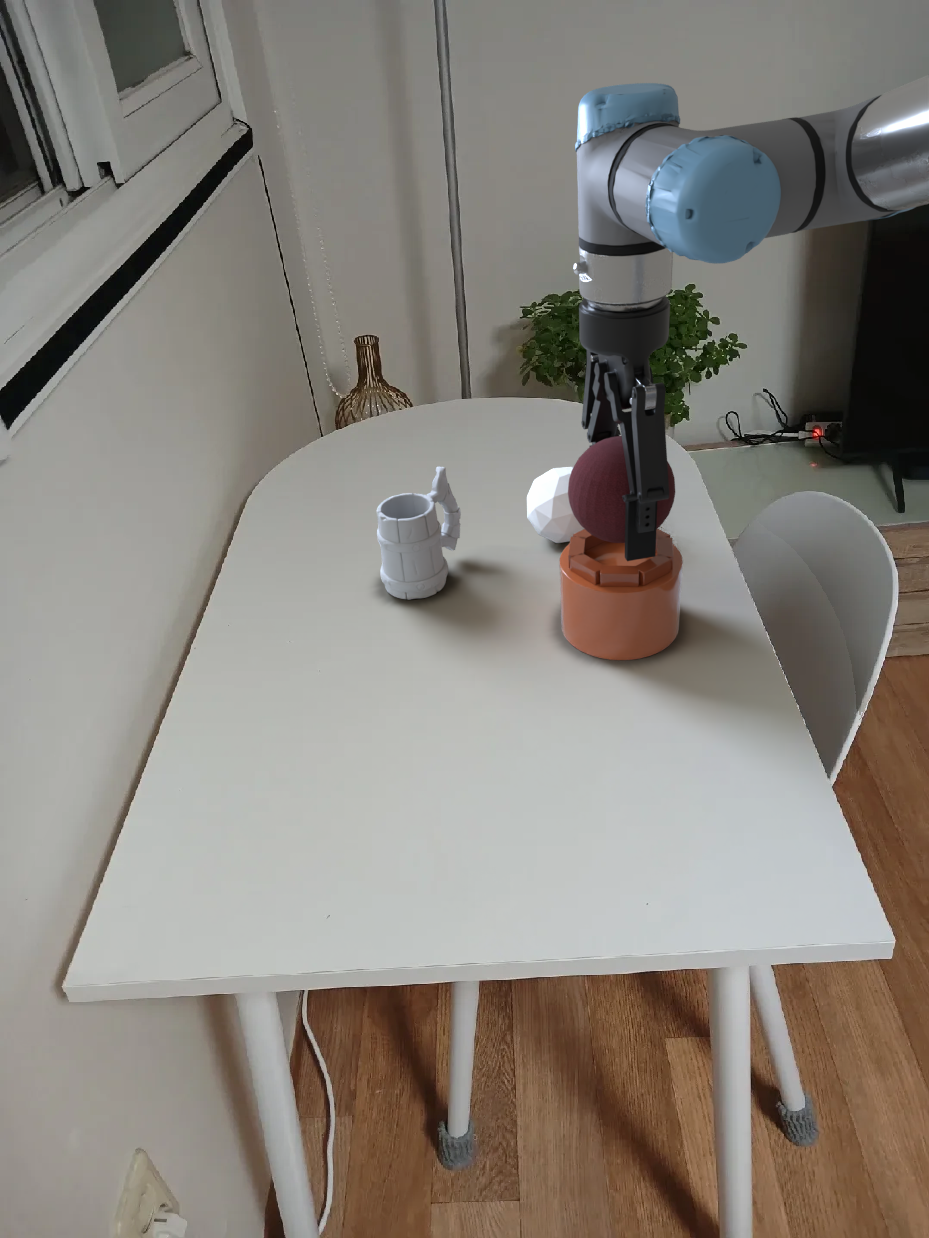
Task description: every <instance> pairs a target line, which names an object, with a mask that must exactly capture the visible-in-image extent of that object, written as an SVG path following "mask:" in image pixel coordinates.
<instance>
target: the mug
mask: <svg viewBox="0 0 929 1238" xmlns="http://www.w3.org/2000/svg"><path fill="white" fill-rule="evenodd" d="M435 473H436V475H435V476H434V478H433V479H432V483H431V490H430V492H429V493H426V494H424V493H414V492H406V493H399V494H395V495H391V496H390V497H387V498H385V499H384V500H383V501H382V502H380V503H379V505H378V506H377V508H376V517H377V525H378V528H377V530H376V538H377V542H378V544H379V545H380V553H381V563H382V564H381V565H380V571H379V572H380V579H381V581H382V583H383V585H384V587H385V590H386V592H387V593H388V594H389V595H391V596H392V597H394V598H398V599H401V600H415V599H424V598H425V599H426V598H429V597H431V596H434V595H436V594H437V592H440V591H441V590H442V589H444V587H445V585H446V581H447V576H448V575H449V565H448V561H447V559H446V557H445V556H444V553H443V548H445V549H447V550H449V551H456V547H457V543H458V539H460V538H461V520H460V519H461V515H462V514H461V513H462V512H461V508H460V507H459V505H458V503H457V500H456V498H455V496H454V494H453V492H452V489H451V488H452V487H451V486H450V483H449V482H448V477H447V469H446V467H445V466H441V465H438V466H436V467H435ZM436 503H438V504H439V505H440V506H441V507H442V508H443V519H444V522H442V526H441V522H440V521H439V520H438V515H437V508H436Z"/></svg>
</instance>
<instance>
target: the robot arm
mask: <svg viewBox="0 0 929 1238" xmlns="http://www.w3.org/2000/svg"><path fill="white" fill-rule="evenodd" d="M679 111H680V110H679V98H678V95H677V92H676V90H675V89H674V87H673V86H671V85H669V84H665V83H658V82H657V83H656V82H642V83H641V82H640V83H639V82H637V83H636V82H635V83H625V84H623V83H622V84H615V85H614V84H613V85H607V86H603V87H599V88H595V89H592V90H590V91H588V92H587V93H585V94H584V95H583V97H582V98H581V99H580V101H579V103H578V108H577V128H576V129H577V130H576V131H577V132H576V134H577V135H576V141H575V144H574V151H575V153H576V172H577V173H576V174H577V175H576V176H577V177H576V178H577V217H578V218H577V219H578V222H577V223H578V255H579V261H577V262H574V263H573V265H572V268H573V269H572V270H573V273H574V274H575V275H579V279H578V281H579V294H580V296H581V297H582V298H583V299H582V301H581V302H580V303H579V304H578V305H579V306H578V315H579V316H578V318H579V319H578V320H579V321H578V322H579V323H578V325H579V326H578V328H579V342H580V345H581V346H582V347H583V348H584V349H585V350H586V366H585V369H586V370H585V378H584V379H585V380H584V392H583V401H582V411H581V412H582V413H581V421H580V422H581V423H580V424H581V427H582V429H583V430H587V432H586V439H587V441H588V443H590V445H589V446H588V448H589V447H591V446H592V445H594V444H596V443H597V442H599V441H601V440H604V439H607V438H611V437H616V436H621V437H622V443H623V450H624V456H625V463H626V469H627V476H628V482H629V489H630V494H626V495H624V496H622V498H623V501H624V502H625V559H626V560H627V561H632V560H637V559H643V558H649V557H654V556H655V553H656V527H657V502H658V501H659V500H665V499H668V498H669V481H668V465H667V461H668V452H667V436H666V435H667V434H666V419H665V406H666V404H665V403H666V391H667V390H666V385H665V384H664V382H657V383H654V376H653V375H654V374H653V369H652V366H650V360H649V358H650V356H651V355H652V354H653V353H654V352H655V351H656V350H659V349H661V348H663V347H664V345H665V344H666V343H667V342H668V341H669V336H670V313H671V300H670V299H669V298H668V297H667V295H669V293H671V290H672V285H673V264H674V263H673V261H674V259H673V258H674V254H675V255H677V256H679V257H685V258H686V259H688V260H692V261H700V262H704V263H708V264H714V265H715V264H717V265H718V264H728V263H731V262H735V261H737V260H739V259H741V258H742V257H743V256H745V255H747V254H748V253H749V252H751V251H752V250H753V249H754V248H755V247H757V246H759V245H760V244H761V243H762V241H763V240H764V239H768V238H774V237H779V236H784V235H785V236H786V235H789V234H794V233H798V232H802V231H807V230H814V229H821V228H826V227H831V226H838V225H839V226H840V225H845V224H851V223H858V222H867V221H874V220H879V219H880V220H881V219H886V218H887V219H888V218H891V217H894V216H895V215H897V214H901V213H904V212H908V211H910V210H913V209H915V208H917V207H921V206H924V205H925V206H926V205H929V74H927V75H924V76H922V77H920V78H917V79H915V80H912V81H910V82H908V83H905V84H903V85H901V86H898V87H895V88H893V89H890V90H888V91H885V92H884V93H882V94H879V95H876V96H874V97H871V98H869V99H866V100H864V101H861V102H859V103H856V104H853V105H851V106H848V107H845V108H841V109H835V110H831V111H826V112H821V113H815V114H810V115H805V116H799V117H797V116H796V117H795V116H794V117H787V118H782V119H776V120H769V121H768V120H767V121H761V122H753V123H748V124H741V125H734V126H727V127H722V128H721V127H720V128H715V129H705V130H698V129H697V130H695V129H690V128H685V127H680V125H681V118H680V114H679ZM630 409H631V410H630ZM624 410H627V411H624ZM628 410H629V411H628Z"/></svg>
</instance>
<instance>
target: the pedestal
mask: <svg viewBox="0 0 929 1238" xmlns="http://www.w3.org/2000/svg"><path fill="white" fill-rule="evenodd" d="M673 542H674V540H673V537H672V536H671V534H670V533H667V532H665V531H663V530H662V529H659V528H658V529H656V553H655V556H654V557H649V558H643V559H637V560H632V561H627V560H626V559H625V543H612V542H607V541H604V540H601V539H599V538H597V537H595V536H593V535H591V534H590V533H589V532H588V531H586V530H585V529H583V530H581V531H579V532H577V533H575V534H573V537H571V538H570V541H569V543H568V544H567V545H566V546H565V547H564V549H563V550H562V552H561V554H560V557H559V586H560V593H559V594H560V619H561V620H560V621H561V623H560V624H561V627H560V628H561V632H562V634H563V636H564V638H565V639H566V641H567V642H568V643H569V644H570V645H571V646H572V647H574V648H575V649H577V650H578V651H580V652H582V653H584V654H587V655H589V656H591V657H595V658H599V659H603V660H609V661H631V660H639V659H644V658H648V657H650V656H653V655H656V654H658V653H660V652H662V651H664V650H665V649H666V648H668V647H669V646H670V645H671V644H672V643H673V642H674V641H675V640H676V638H677V636H678V634H679V629H680V613H681V598H682V597H681V596H682V595H681V594H682V580H683V579H682V577H683V564H684V563H683V562H684V560H683V556H682V553H681V551H680V550H679V548H678V547H677V546H676V545H675V544H674V543H673Z"/></svg>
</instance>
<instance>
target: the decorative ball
mask: <svg viewBox="0 0 929 1238" xmlns="http://www.w3.org/2000/svg"><path fill="white" fill-rule="evenodd" d="M591 445H592V444H591ZM667 465H668V481H669V498H668V499H665V500H659V501H658V502H657V527H656V529H659V528H660V527H661V526H662V525H663V523H664V522H665V521H666V520H667V518H668V516H669V515H670V513H671V510H672V508H673V505H674V503H675V496H676V480H675V479H676V478H675V474H674V472H673V468H672V467H671V464H670V463H669V461H668V460H667ZM572 467H573V469H572V472H571V475H570V478H569V485H568V498H569V503H570V507H571V509H572V512H573V515H574V516H575V518H576V519H577V521H578V522H579V523H580V525H581V526H582V527H583V528H584V529H585V530H586V531H588V532H589V533H590V534H591V535H593V536H595V537H597V538H599V539H601V540H604V541H607V542H612V543H625V502H624V501H623V498H622V496H624V495H626V494H630V489H629V482H628V476H627V469H626V463H625V456H624V450H623V443H622V437H621V435H619V436H616V437H611V438H607V439H604V440H601V441H599V442H597V443H596V444H594V445H592V446H591V447H589V446H588V448H586V449H585V451H583V453H582V454H581V455H580V456H579V457H578V459H577V460H576V462H575V463H574V466H572Z"/></svg>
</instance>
